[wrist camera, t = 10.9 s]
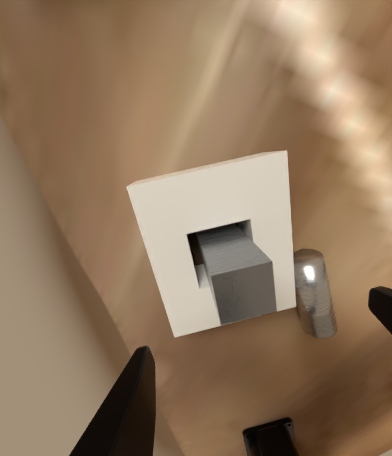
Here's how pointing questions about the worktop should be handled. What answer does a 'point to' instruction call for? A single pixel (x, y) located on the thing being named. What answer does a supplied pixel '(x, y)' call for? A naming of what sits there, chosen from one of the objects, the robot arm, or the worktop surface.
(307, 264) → the round bit
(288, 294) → the socket block
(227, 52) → the worktop surface
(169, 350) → the worktop surface
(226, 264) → the square bit
